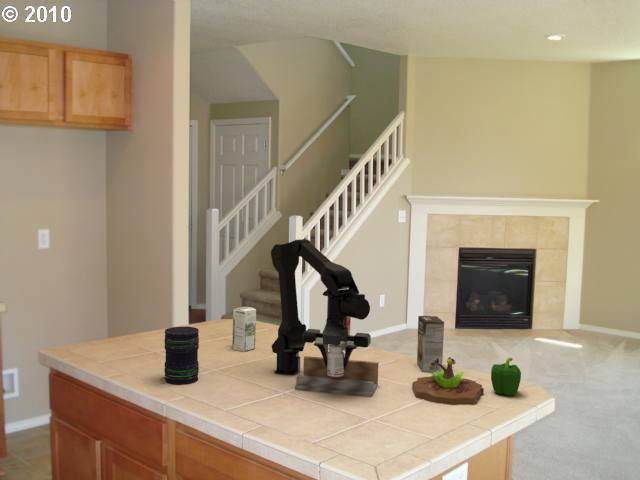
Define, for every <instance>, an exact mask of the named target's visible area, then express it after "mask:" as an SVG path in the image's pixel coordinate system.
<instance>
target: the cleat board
mask: <svg viewBox="0 0 640 480" xmlns="http://www.w3.org/2000/svg"><path fill="white" fill-rule="evenodd" d="M295 378H296V379H295V380H296V383H295V385H294V391H300V392H301V391H302V392H310V393H311V392H314V393H323V394H335V395H345V396H355V397H366V398H373V396H374V394H375V392H376V390H377V388H378V386H379V361H371V360H370V361H368V360H357V359H356V360H355V359H349V360H348V363H347V366H346V368H345V369H344V375H343V376H340V377H332V376H329V375H328V374H327V367H326V366H325V363H324V360H323V356H322V357H320V356H307V355H304V356H303V375H302V374H301V375H300V374H296V377H295Z"/></svg>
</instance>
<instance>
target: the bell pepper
mask: <svg viewBox="0 0 640 480" xmlns="http://www.w3.org/2000/svg"><path fill="white" fill-rule="evenodd" d="M513 360H514V359H513V358H512V357H509V358H507V359H506V361H505V363H501V364H496V363H495V364H493V365H492V367H491V371H490V380H491V386H492V389H493V391H494V393H496V394H498V395H506V396H509V397H511V396H516V394H517V393H518V390H519V387H520V384H521V381H522V380H521V379H522V371H521V368H519V367H518V365H517V364H511V365H510V363H511V362H512V361H513Z"/></svg>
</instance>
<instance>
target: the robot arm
mask: <svg viewBox="0 0 640 480" xmlns="http://www.w3.org/2000/svg"><path fill="white" fill-rule="evenodd" d="M270 256H271V257H270V258H271V262H272V266H273V267H274V269H275V270H276V272H277V273H278V284H279V293H280V294H279V295H280V296H279V297H280V308H281V309H280V310H281V317H282V318H281V322H280V323H279V324H280V325H279V327H278V329H277V338H276V339H275V340H274V342H273V343H272V345H271V351H272V353H274V354H276V370H274V373H275V374H280V375H282V374H283V375H293V376H295V375H297V373H298V372H299V371H300V370H301V356H300V355H299V354H300V352H304V349H305V345H306V343H307V344H313V345H314V347H317V348H318V349H319V351H320V353H321V356H322V358H323V360H324V363H325V366H326V367H327V361H328V352H329V345H335V346H337V345H340V343H341V341H342V342H347V343H348V344H347V346H346V347H345V351H344V369H345V368H346V366H347V363H348V360H350V358H351V355H352V353H353V351H354V350H356V349H358V348H368V347H369V346H370V345H371V343H372V341H371V340H372V337H371V334H370V333H366V332H356V334H355V335H351V334H350V335H349V332H348V328H347V318H348V317H351V318H353V319H356V320H365V319H367V318H368V316H369V314H370V311H371V306H370V303H369V301H368V300H367V299H366V294H364V293H360V291H359V289H358V286H357V284H356V282H355V279H354V278H353V273H352V271H350V270H349V268H346V267H345V266H343V265H341V264H338V263H334V262H333V261H331V260H330V259H329V258H328V257H327V256H326V255H324V254H323V253H322V252H321V251H320V250H319V249H318V248H317V247H315V246H314V245H313V244H312V242H311V241H310V240H309V239H307V238H305V239H303V238H300V239H294V240H291V241H290V242H286V243H276V244H274V245H273V247H272V248H271V250H270ZM300 258H302V259H303V260H304V261H305V262H306V263H308V265H309V266H310V267H311V268H313V269H314V270H315V271H316V273H318V274H319V277H320V281H321V282H322V284H323V285H324V286H325V288H326V290H324V292H323V293H322V295H323V296H324V297H327V307H326V313H327V314H326V321H325V322H326V323H325V325H324V328H323V331H322V332H321V330H320V329H316V328H308V329H307V325H306V324H305V323H304V324H303V323H302V321H301V320H300V317H299V310H298V309H299V307H298V297H297V296H298V295H297V293H298V292H297V283H296V271H297V268H298V266H299V264H300Z"/></svg>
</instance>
